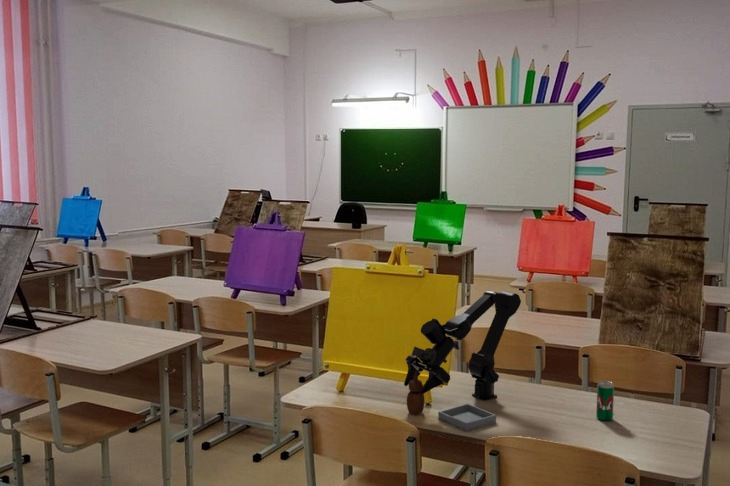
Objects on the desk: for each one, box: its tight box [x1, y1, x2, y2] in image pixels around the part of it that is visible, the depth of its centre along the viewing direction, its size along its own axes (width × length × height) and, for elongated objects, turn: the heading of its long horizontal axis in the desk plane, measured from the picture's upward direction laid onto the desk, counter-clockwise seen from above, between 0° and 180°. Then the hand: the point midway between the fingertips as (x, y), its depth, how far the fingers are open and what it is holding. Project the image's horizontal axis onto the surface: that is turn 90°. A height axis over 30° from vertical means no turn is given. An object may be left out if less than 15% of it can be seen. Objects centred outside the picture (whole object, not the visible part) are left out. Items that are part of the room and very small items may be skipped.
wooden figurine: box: [406, 371, 425, 416], centre depth 223 cm, size 7×6×15 cm
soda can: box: [595, 380, 615, 422], centre depth 217 cm, size 5×5×12 cm
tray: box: [437, 403, 497, 433], centre depth 217 cm, size 13×13×2 cm
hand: (412, 389), depth 222 cm, fingers open, 9 cm apart
